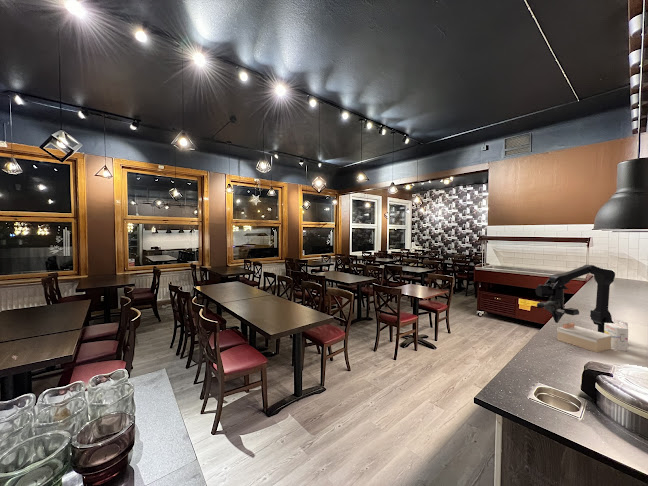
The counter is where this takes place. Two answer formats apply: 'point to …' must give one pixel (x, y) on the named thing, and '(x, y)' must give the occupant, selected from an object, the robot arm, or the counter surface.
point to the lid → (582, 332)
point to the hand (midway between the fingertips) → (556, 322)
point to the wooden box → (586, 342)
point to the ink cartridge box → (617, 334)
